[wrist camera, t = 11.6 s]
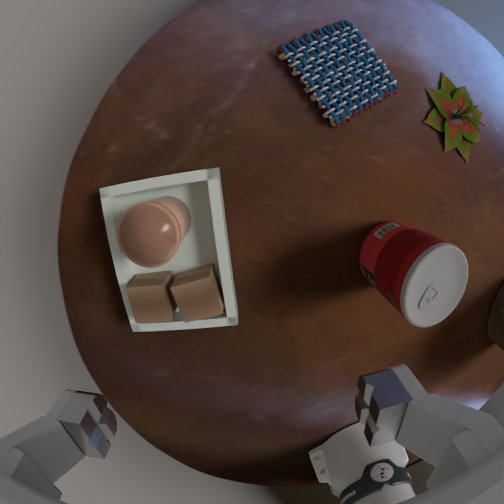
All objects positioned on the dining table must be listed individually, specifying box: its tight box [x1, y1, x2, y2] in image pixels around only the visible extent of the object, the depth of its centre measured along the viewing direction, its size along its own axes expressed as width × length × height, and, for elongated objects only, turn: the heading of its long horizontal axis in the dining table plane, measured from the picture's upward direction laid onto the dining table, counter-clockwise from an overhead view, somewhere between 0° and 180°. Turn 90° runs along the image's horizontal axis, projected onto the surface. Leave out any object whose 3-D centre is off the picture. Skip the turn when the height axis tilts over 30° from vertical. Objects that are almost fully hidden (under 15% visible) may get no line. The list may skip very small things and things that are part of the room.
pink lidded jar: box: [117, 196, 191, 268], centre depth 25 cm, size 5×5×7 cm
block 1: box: [126, 270, 177, 323], centre depth 29 cm, size 4×4×4 cm
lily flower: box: [424, 72, 485, 163], centre depth 25 cm, size 12×12×5 cm
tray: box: [99, 168, 238, 332], centre depth 29 cm, size 16×12×3 cm
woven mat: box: [279, 20, 398, 127], centre depth 25 cm, size 10×11×2 cm
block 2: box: [170, 263, 224, 323], centre depth 29 cm, size 4×4×4 cm
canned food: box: [359, 221, 468, 327], centre depth 26 cm, size 8×8×11 cm
